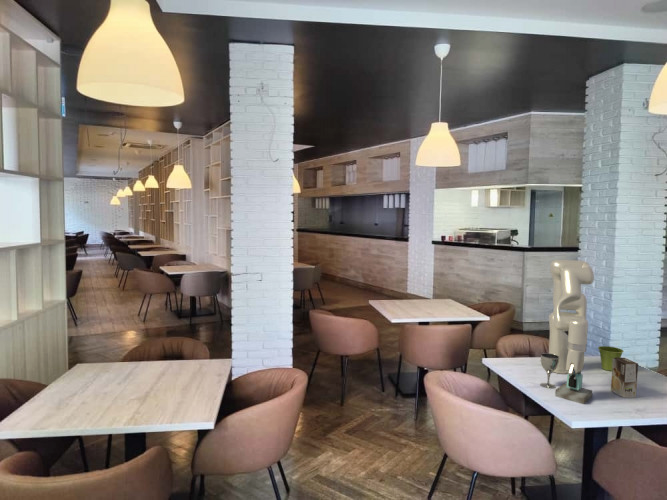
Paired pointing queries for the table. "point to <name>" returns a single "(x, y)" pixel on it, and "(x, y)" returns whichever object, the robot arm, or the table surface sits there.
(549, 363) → the wine glass
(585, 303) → the robot arm
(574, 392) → the base block
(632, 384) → the coffee box
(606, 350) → the plant pot
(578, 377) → the teal block
